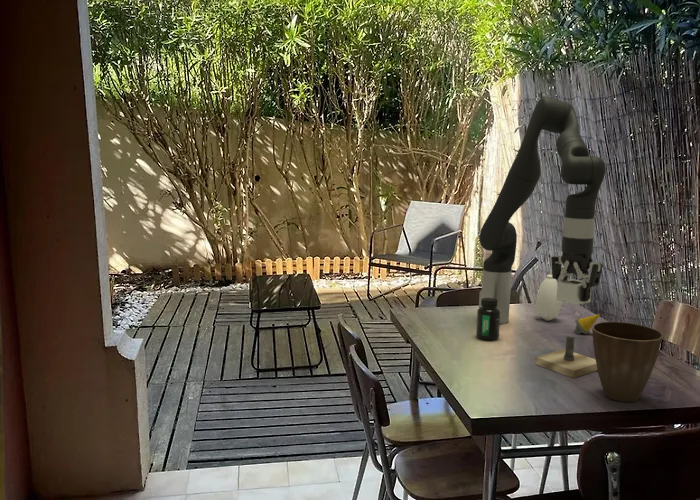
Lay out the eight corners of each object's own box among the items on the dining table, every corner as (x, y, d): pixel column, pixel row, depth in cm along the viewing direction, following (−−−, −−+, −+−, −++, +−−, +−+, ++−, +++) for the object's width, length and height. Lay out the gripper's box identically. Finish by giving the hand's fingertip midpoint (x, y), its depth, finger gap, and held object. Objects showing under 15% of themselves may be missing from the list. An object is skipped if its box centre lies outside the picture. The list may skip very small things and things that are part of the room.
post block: (535, 363, 164) (537, 335, 162) (563, 355, 170) (565, 328, 169) (573, 378, 154) (575, 347, 153) (602, 369, 161) (604, 339, 159)
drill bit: (577, 330, 196) (603, 313, 191) (581, 341, 192) (607, 324, 187) (566, 321, 195) (592, 304, 190) (569, 332, 190) (596, 315, 185)
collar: (556, 300, 160) (557, 281, 159) (570, 297, 163) (571, 278, 162) (576, 305, 155) (577, 285, 154) (590, 301, 158) (591, 283, 158)
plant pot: (579, 382, 151) (584, 320, 149) (642, 385, 150) (648, 322, 147) (597, 407, 137) (603, 339, 134) (667, 411, 135) (674, 342, 133)
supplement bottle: (487, 342, 181) (489, 303, 179) (471, 336, 187) (473, 298, 185) (503, 339, 185) (505, 300, 183) (487, 333, 191) (489, 295, 189)
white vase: (549, 324, 201) (553, 270, 198) (530, 318, 207) (533, 266, 204) (564, 320, 205) (568, 268, 202) (545, 315, 211) (549, 264, 208)
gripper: (612, 237, 152) (606, 302, 155) (563, 230, 164) (559, 291, 167) (594, 240, 148) (588, 306, 151) (545, 232, 160) (541, 295, 163)
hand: (573, 298), depth 159 cm, fingers closed on collar, 6 cm apart
